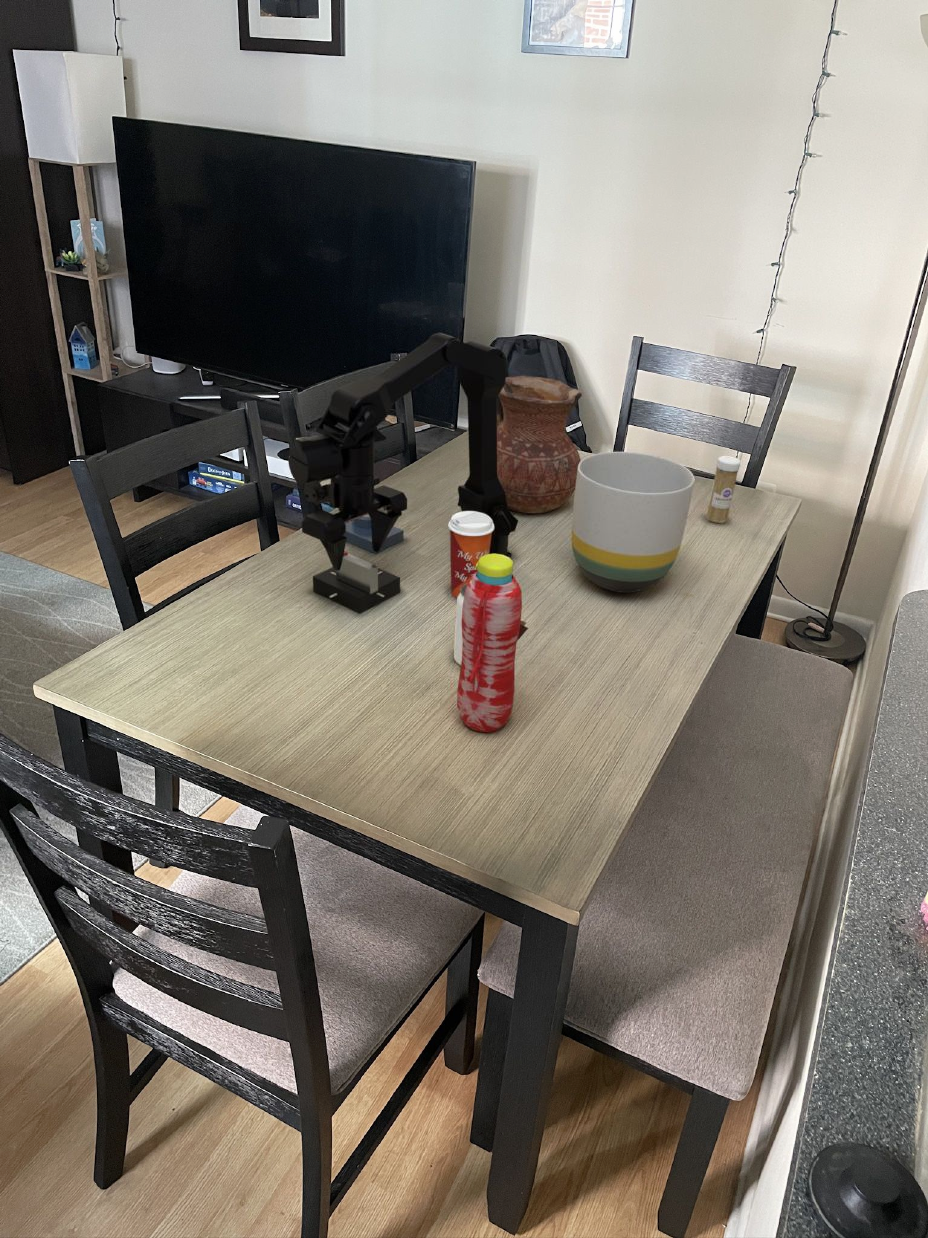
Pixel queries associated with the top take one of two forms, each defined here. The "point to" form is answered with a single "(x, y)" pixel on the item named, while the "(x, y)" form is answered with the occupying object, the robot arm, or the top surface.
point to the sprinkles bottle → (723, 489)
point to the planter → (629, 518)
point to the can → (459, 626)
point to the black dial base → (355, 590)
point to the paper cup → (467, 545)
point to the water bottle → (489, 644)
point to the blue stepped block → (369, 534)
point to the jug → (536, 443)
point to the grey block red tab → (358, 573)
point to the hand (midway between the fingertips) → (356, 560)
